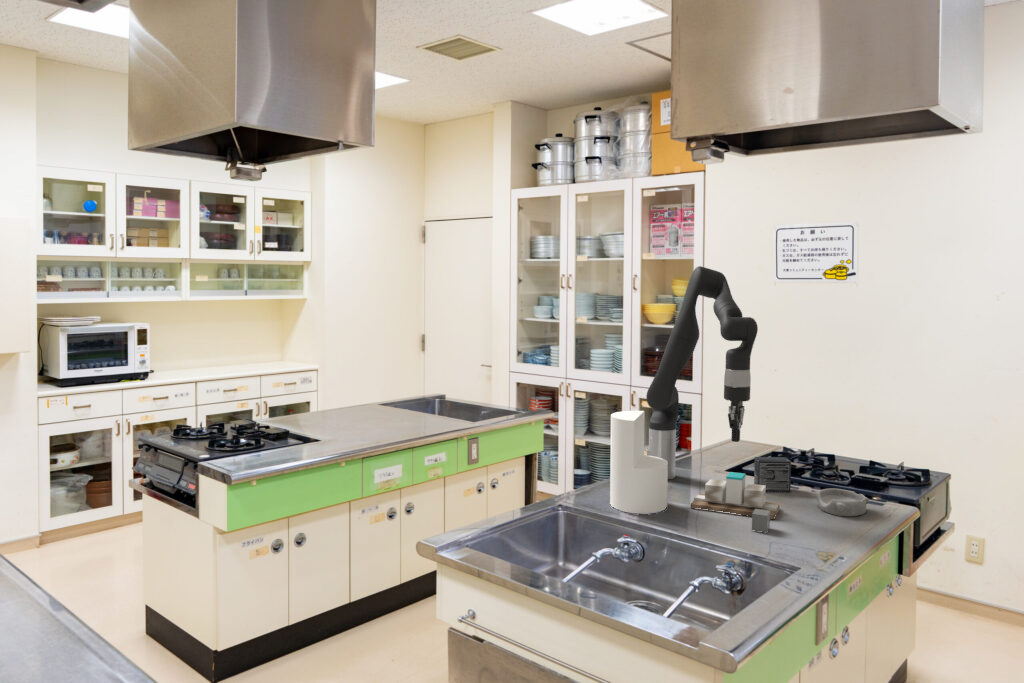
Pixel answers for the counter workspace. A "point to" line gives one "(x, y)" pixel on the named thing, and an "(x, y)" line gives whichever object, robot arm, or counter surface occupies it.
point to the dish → (842, 502)
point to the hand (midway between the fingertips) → (735, 441)
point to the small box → (773, 473)
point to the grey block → (760, 520)
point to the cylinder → (635, 467)
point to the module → (735, 488)
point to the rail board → (717, 502)
